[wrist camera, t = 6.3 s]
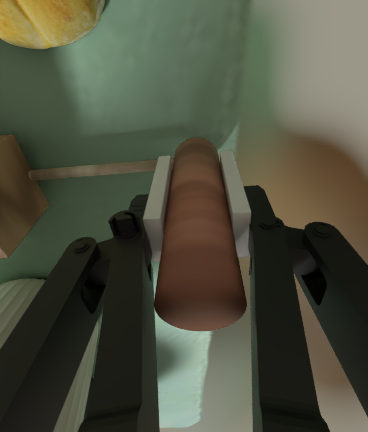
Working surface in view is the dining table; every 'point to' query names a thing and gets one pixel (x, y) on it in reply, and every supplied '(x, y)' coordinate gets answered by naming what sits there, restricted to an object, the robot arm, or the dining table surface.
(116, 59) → the dining table surface
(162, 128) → the dining table surface
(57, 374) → the robot arm
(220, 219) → the block with cord
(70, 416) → the canister
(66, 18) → the bread roll
